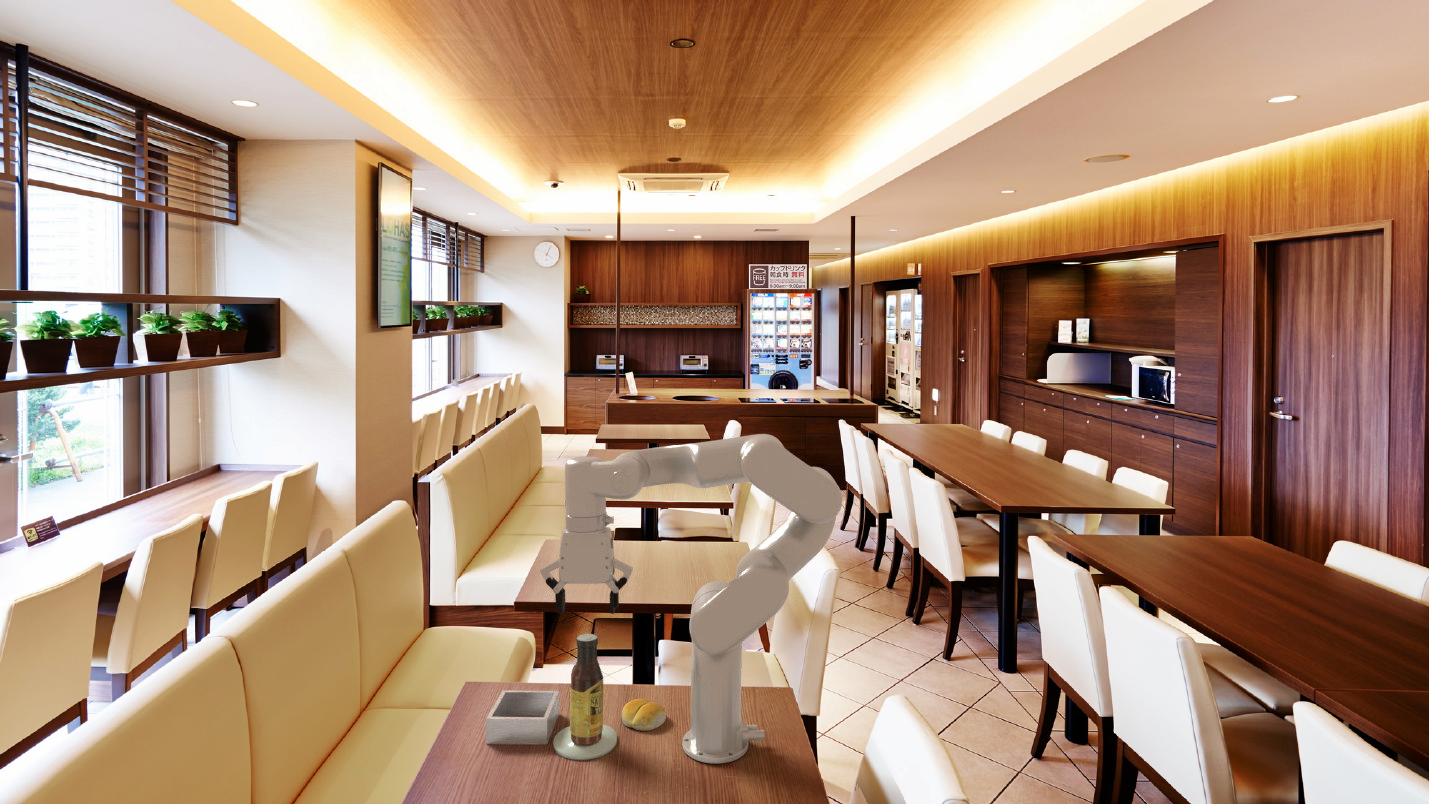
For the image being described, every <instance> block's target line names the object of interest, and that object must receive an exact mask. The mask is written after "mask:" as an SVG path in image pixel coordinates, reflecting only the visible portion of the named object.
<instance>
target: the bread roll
mask: <svg viewBox="0 0 1429 804" xmlns="http://www.w3.org/2000/svg"><path fill="white" fill-rule="evenodd" d="M666 714H667V713H666V709H665V708H664V707H663V706H662V705H661V704H660V703H657V702H656V701H651V702H650V701H649V700H647V699H646V698H635V699H631V700H630V701H628V702H627V703H626V704H625V705H624V706H623V708H622V711H621V720H622V723H623V724H624V725H625V726H626V727H629V728H633V729H634V730H637V731H642V732H645V731H652V730H655V729H657V728H659V727H661V726H662V725H663V724H665V722H666V719H667V715H666Z"/></svg>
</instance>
